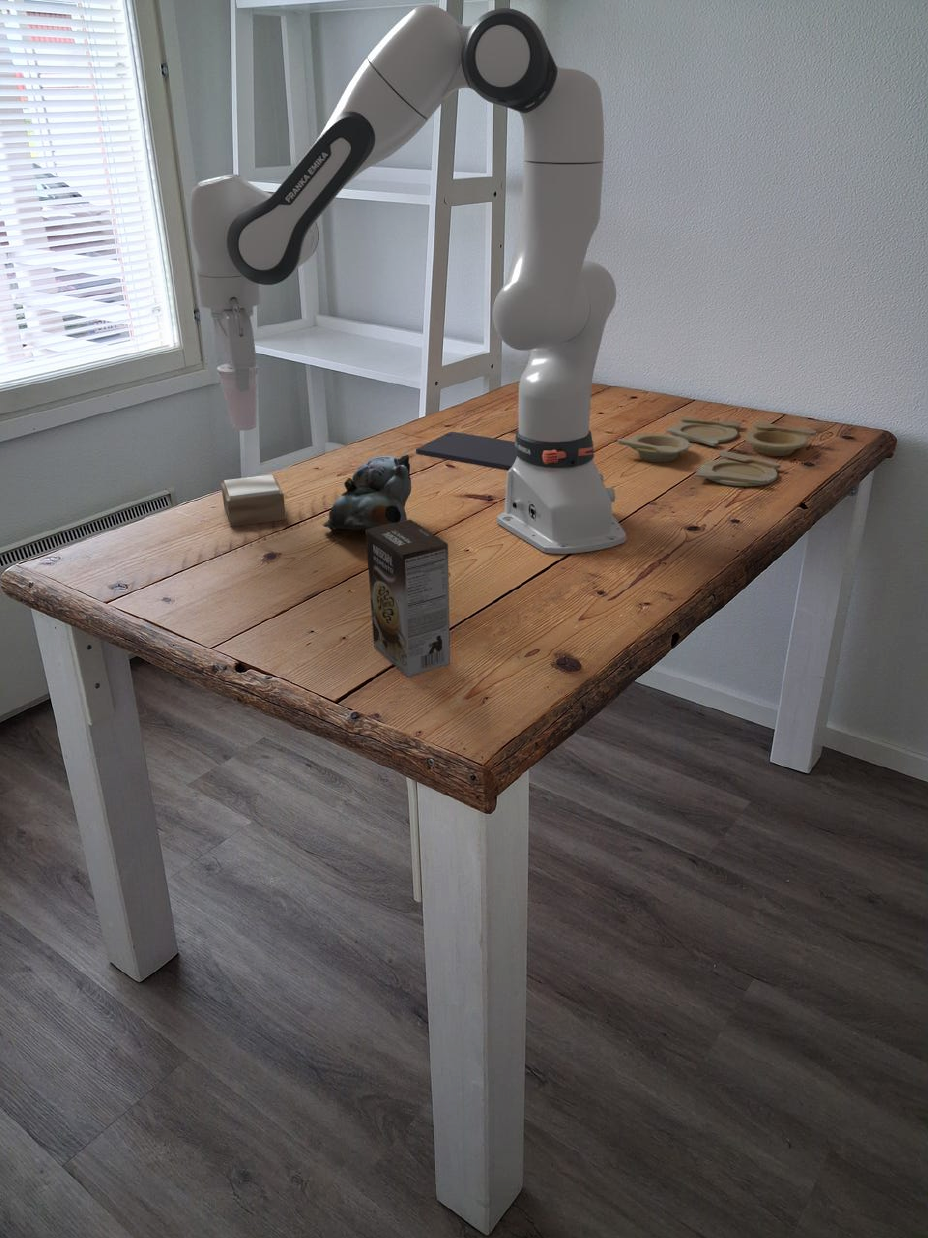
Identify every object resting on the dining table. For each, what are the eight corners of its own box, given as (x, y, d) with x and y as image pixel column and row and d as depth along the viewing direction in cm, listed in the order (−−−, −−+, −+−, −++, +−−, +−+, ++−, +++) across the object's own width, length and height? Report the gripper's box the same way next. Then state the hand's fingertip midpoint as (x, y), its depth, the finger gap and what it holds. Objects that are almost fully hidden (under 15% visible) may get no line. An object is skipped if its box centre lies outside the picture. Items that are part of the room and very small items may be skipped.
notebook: (416, 456, 193) (512, 474, 183) (415, 448, 193) (512, 465, 183) (450, 438, 203) (544, 454, 193) (450, 431, 202) (544, 446, 192)
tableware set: (755, 498, 170) (757, 475, 168) (604, 466, 186) (605, 445, 184) (827, 445, 195) (830, 424, 193) (689, 421, 210) (690, 401, 208)
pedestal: (286, 519, 164) (283, 490, 162) (230, 526, 162) (226, 497, 159) (277, 500, 172) (274, 473, 170) (224, 507, 169) (220, 479, 167)
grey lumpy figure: (312, 526, 161) (330, 441, 161) (379, 541, 167) (397, 460, 167) (346, 530, 148) (366, 438, 148) (417, 547, 154) (437, 458, 154)
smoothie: (249, 418, 164) (239, 331, 158) (272, 426, 160) (263, 337, 154) (216, 427, 160) (204, 338, 154) (239, 435, 156) (228, 344, 150)
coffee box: (371, 647, 126) (363, 528, 118) (416, 634, 129) (410, 516, 121) (406, 679, 119) (400, 554, 111) (452, 663, 122) (449, 541, 114)
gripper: (260, 303, 143) (270, 399, 149) (242, 280, 160) (251, 367, 166) (215, 306, 141) (227, 403, 148) (202, 283, 158) (213, 370, 165)
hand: (240, 383), depth 157 cm, fingers closed on smoothie, 6 cm apart
